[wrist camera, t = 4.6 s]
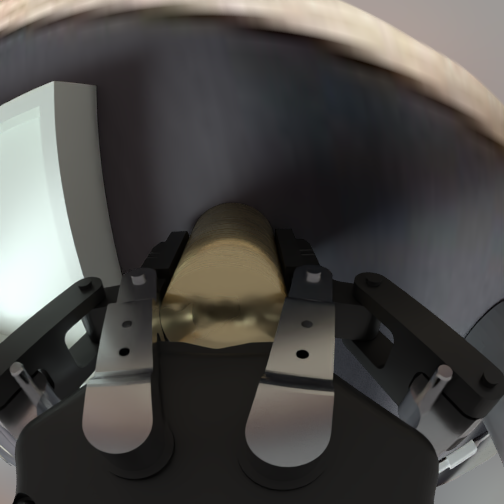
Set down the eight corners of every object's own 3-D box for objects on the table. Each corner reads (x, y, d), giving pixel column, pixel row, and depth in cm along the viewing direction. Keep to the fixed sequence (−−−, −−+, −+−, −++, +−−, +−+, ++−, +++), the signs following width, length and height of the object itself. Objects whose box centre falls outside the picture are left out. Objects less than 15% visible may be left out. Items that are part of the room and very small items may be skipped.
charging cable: (534, 387, 33) (540, 396, 30) (430, 468, 39) (434, 478, 36) (539, 379, 31) (545, 387, 28) (429, 465, 37) (433, 476, 34)
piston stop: (274, 201, 13) (296, 265, 7) (273, 277, 15) (287, 366, 9) (187, 204, 13) (148, 268, 7) (196, 279, 15) (173, 366, 9)
